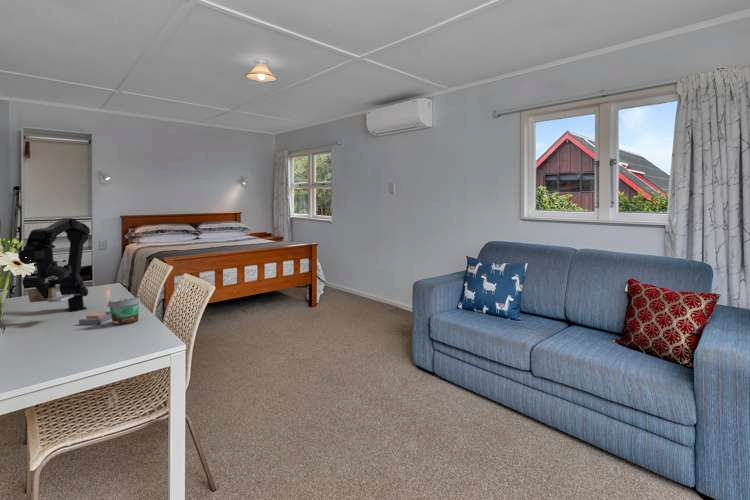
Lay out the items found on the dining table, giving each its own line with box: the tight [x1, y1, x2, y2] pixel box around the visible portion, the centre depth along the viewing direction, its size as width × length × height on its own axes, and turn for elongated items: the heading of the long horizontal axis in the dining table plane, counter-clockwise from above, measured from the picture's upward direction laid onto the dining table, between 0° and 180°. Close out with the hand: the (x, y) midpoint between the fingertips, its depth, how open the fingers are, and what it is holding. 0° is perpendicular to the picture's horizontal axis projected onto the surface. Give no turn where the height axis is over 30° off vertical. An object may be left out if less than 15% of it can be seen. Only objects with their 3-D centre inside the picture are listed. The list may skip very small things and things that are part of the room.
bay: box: [78, 311, 112, 326], centre depth 174 cm, size 8×12×2 cm, turn 4°
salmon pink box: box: [85, 311, 107, 319], centre depth 173 cm, size 5×5×3 cm
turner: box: [27, 286, 74, 303], centre depth 171 cm, size 14×8×5 cm, turn 95°
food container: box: [107, 295, 141, 326], centre depth 170 cm, size 12×6×10 cm, turn 148°
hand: (48, 297), depth 171 cm, fingers closed on turner, 2 cm apart
